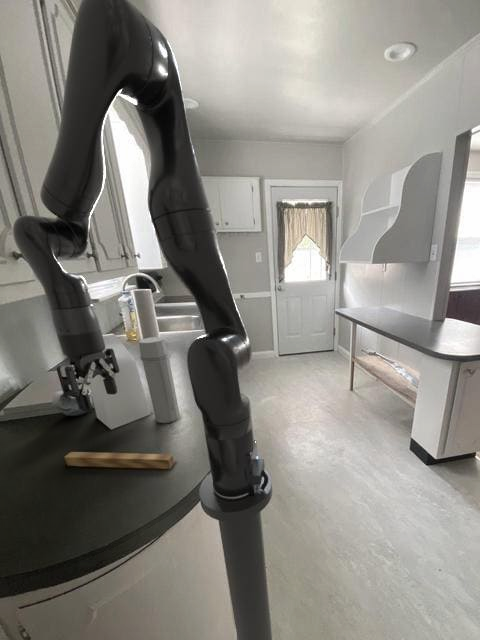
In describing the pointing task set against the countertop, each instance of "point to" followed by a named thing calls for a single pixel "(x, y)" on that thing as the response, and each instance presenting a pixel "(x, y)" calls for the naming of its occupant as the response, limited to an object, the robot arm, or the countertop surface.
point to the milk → (120, 390)
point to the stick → (120, 460)
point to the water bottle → (159, 379)
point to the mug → (68, 404)
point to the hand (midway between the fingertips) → (100, 401)
